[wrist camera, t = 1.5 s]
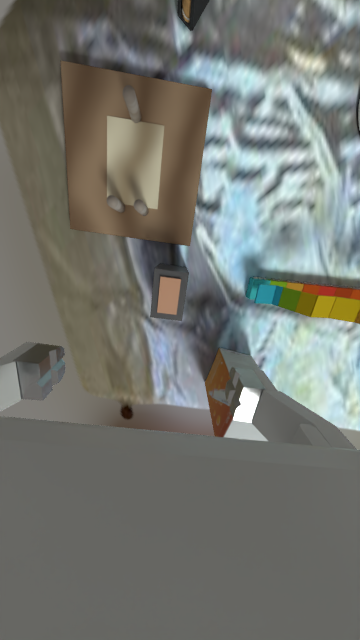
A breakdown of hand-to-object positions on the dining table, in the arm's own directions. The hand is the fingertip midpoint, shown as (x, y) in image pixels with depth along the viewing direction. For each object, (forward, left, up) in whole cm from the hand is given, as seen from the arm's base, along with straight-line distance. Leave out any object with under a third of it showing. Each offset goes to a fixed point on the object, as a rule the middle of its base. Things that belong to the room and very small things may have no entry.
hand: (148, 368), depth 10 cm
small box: (-12, +14, -22) cm, 29 cm away
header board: (+6, -14, -22) cm, 27 cm away
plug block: (0, 0, -22) cm, 22 cm away
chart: (-27, -2, -22) cm, 36 cm away
